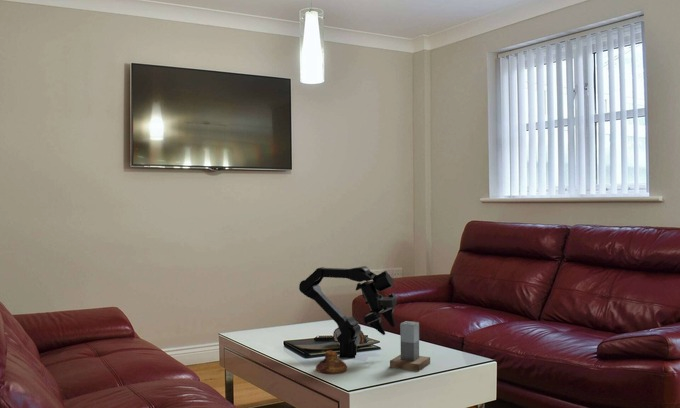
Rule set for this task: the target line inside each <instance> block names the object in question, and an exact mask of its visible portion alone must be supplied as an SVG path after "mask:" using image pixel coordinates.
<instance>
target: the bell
mask: <svg viewBox="0 0 680 408" xmlns="http://www.w3.org/2000/svg"><path fill="white" fill-rule="evenodd" d="M315 371H316V372H318V373H320V374H325V375H338V374H343V373H346V372H347V371H348V365H347V364H346V363H345V362H344V361H343V360H341V359H340V358H338V352H336V351H333V350H327V351H325V353H324V359H323V360H320V361H319V362H318V363H317V364H316V366H315Z"/></svg>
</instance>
